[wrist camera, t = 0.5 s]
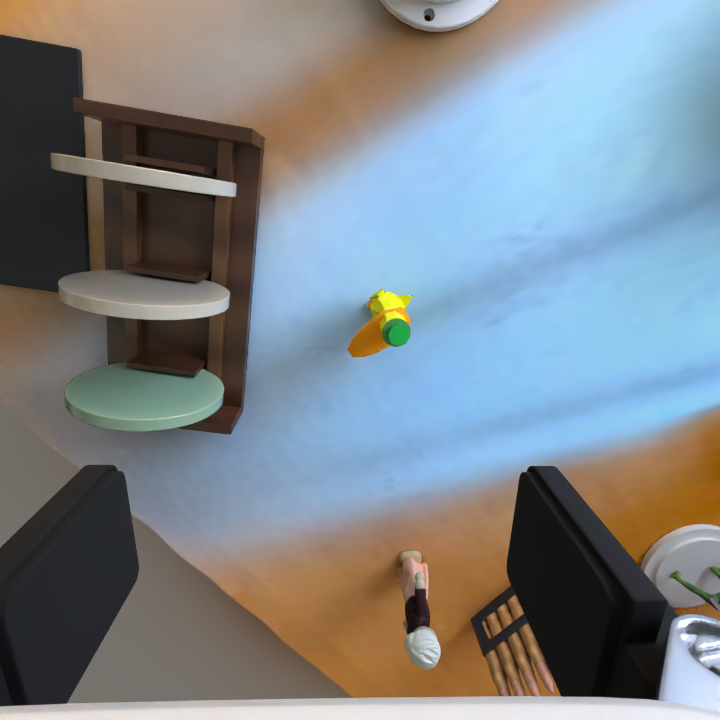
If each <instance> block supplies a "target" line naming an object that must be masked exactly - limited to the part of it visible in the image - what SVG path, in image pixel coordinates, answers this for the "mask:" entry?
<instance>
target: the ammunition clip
mask: <svg viewBox="0 0 720 720" xmlns="http://www.w3.org/2000/svg"><path fill="white" fill-rule="evenodd" d="M471 622H472V625H473V628H474V630H475V633H476V636H477V639H478V642H479V645H480V648H481V651H482V654H483V656H484V657H486V660H487V663H488V666H489V669H490V673H491V676H492V679H493V681H494V683H495V685H496V687H497V690H498V693H499V695H500V696H511V694H510V689H509V686H508V680H507V677H508V679H509V682H510V684H511V686H512V689H513V692H514V694H515V696H526V694H525V690H524V687H523V684H522V680H521V677H520V673H519V668H520V670H521V673H522V675H523V677H524V679H525V682H526V684H527V686H528V689H529V690H530V692H531V694H532V695H533V696H540V691H539V686H538V683H537V680H536V677H535V674H534V671H533V668H532V664H531V659H532V661H533V663H534V665H535V667H536V669H537V672H538V674H539V676H540V678H541V680H542V682H543V683H544V685H545V686H546V688H547V689H548V690H549V691H550V692H551V693H553V691H554V688H553V682H552V678H551V674H550V671H549V668H548V666H547V663H546V661H545V659H544V656H543V654H542V652H541V650H540V648H539V645H538V643H537V641H536V639H535V636H534V634H533V632H532V630H531V627H530V625H529V623H528V621H527V619H526V616H525V614H524V612H523V610H522V607H521V605H520V603H519V601H518V598H517V596H516V594H515V592H514V590H513V587H512V586H511V587H509V588H508V589H507V590H506V591H504V592H503V593H502V594H501V595H499V596H498V597H497V598H496V599H495V600H493V601H492V602H491V603H490V604H488V605H487V606H486V607H485V608H483V609H482V610H481V611H480V612H478V613H477V614H476V615H475V616H474V617H472V618H471ZM530 658H531V659H530ZM518 667H519V668H518Z"/></svg>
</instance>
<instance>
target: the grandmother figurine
mask: <svg viewBox="0 0 720 720" xmlns="http://www.w3.org/2000/svg"><path fill="white" fill-rule="evenodd" d="M421 560H422V555H421V553H420V552H419V551H416V550H414V551H405V552H401V553H400V554H399V561H400V562H401V563H403V564H402V566H401V567H399V568H398V570H397V575H398V576H399V577H400V583H401V587H402V592H403V596H404V599H405V614H406V619H405V620H404V622H403V624H404V627H405V628H406V631H407V634H408V636H407V637H406V641H405V649H406V651H407V653H408V654H409V657H410V659H411V661H412V662H413V663H414V664H416V665H418V666H420V667H421V668H423V669H431V668H433V667H435V666H436V665H437V663H438V660H439V658H440V656H441V654H440V652H441V650H440V644H439V643H438V641H437V637H436V635H435V633H434V631H433V630H432V629H430V628H429V624H430V612H429V608H428V604H427V599H428V568H427V564H426V563H422V564H420V563H421Z"/></svg>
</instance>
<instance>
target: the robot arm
mask: <svg viewBox="0 0 720 720" xmlns="http://www.w3.org/2000/svg"><path fill="white" fill-rule="evenodd" d="M380 1H381V3H382V4H383V5H384V6H385V8H386V9H387V10H388V11H389V12H390V13H392V14H393V15H394V16H395V17H396V18H398V19H399V20H400V21H402V22H404V23H406V24H408V25H410V26H412V27H414V28H417V29H421V30H425V31H429V32H445V31H450V30H455V29H459V28H462V27H464V26H466V25H468V24H471V23H473V22H474V21H476V20H477V19H479V18H480V17H481V16H483V15H484V14H486V13H487V12H488V11H489V10H490V9H491V8H492V7H493V6H494V5H495V4H496V3H497V2H498V0H380ZM425 16H429V17H430V21H426V20H425V18H424V17H425ZM138 572H139V563H138V556H137V550H136V544H135V537H134V531H133V524H132V518H131V512H130V505H129V499H128V493H127V486H126V480H125V475H124V473H123V472H121V471H118V470H117V468H116V467H115V466H114V465H86V466H85V467H83V468H82V469H81V470H80V471H79V472H78V473H77V474H76V475H75V476H74V477H73V478H72V479H71V480H70V481H69V482H68V483H67V484H66V485H65V486H64V487H63V488H61V489H60V490H59V492H57V494H56V495H54V496H53V497H52V498H51V499H50V500H49V501H48V502H47V503H46V504H45V505H44V506H43V507H42V508H41V509H40V510H39V511H38V512H37V513H36V514H35V515H34V516H33V517H32V518H31V519H30V520H28V521H27V522H26V523H25V524H24V525H23V526H22V528H20V529H19V530H18V531H17V532H16V533H15V534H14V535H13V536H12V537H11V538H10V539H9V540H8V541H7V542H6V543H5V544H4V545H3V546H2V547H1V548H0V720H720V621H719V620H716V619H713V618H711V617H708V616H702V615H696V614H689V615H681V616H679V615H678V614H677V613H676V612H675V611H674V609H673V608H672V607H671V606H670V605H669V603H668V600H667V599H666V598H665V597H664V596H663V594H662V593H661V592H660V591H659V590H658V588H657V587H656V586H655V585H654V584H653V582H652V581H651V580H650V579H649V578H648V576H647V575H646V574H645V573H644V572H643V570H642V569H641V568H640V567H639V566H638V564H637V563H636V562H635V561H634V560H633V558H632V557H631V556H630V555H629V554H628V552H627V551H626V550H625V549H624V548H623V546H622V545H621V544H620V543H619V542H618V541H617V539H616V538H615V537H614V536H613V535H612V533H611V532H610V531H609V530H608V529H607V527H606V526H605V525H604V524H603V523H602V521H601V520H600V519H599V518H598V517H597V515H596V514H595V513H594V512H593V511H592V509H591V508H590V507H589V506H588V505H587V503H586V502H585V501H584V500H583V499H582V497H581V496H580V495H579V494H578V493H577V491H576V490H575V489H574V488H573V487H572V485H571V484H570V483H569V482H568V481H567V479H566V478H565V477H564V476H563V475H562V473H561V472H560V471H559V470H558V469H557V468H556V467H554V466H530V467H529V468H528V470H527V472H522V473H521V475H520V478H519V485H518V492H517V498H516V505H515V512H514V519H513V525H512V532H511V539H510V545H509V552H508V559H507V574H508V578H509V581H510V583H511V585H512V587H513V590H514V592H515V594H516V596H517V598H518V601H519V603H520V605H521V607H522V610H523V612H524V614H525V616H526V619H527V621H528V623H529V625H530V627H531V630H532V632H533V634H534V636H535V639H536V641H537V643H538V645H539V648H540V650H541V652H542V654H543V656H544V659H545V661H546V663H547V665H548V668H549V670H550V672H551V674H552V676H553V679H554V681H555V683H556V685H557V688H558V690H559V692H560V694H561V697H548V696H488V697H386V698H325V699H323V698H319V699H258V700H207V701H206V700H205V701H161V702H117V703H74V704H67V702H68V700H69V698H70V697H71V695H72V693H73V691H74V690H75V688H76V686H77V684H78V683H79V681H80V679H81V677H82V676H83V674H84V672H85V670H86V669H87V667H88V665H89V663H90V662H91V660H92V658H93V656H94V654H95V653H96V651H97V649H98V647H99V646H100V644H101V642H102V640H103V639H104V637H105V635H106V633H107V632H108V630H109V628H110V626H111V625H112V623H113V621H114V619H115V618H116V616H117V614H118V612H119V611H120V609H121V607H122V605H123V603H124V602H125V600H126V598H127V596H128V595H129V593H130V591H131V589H132V588H133V586H134V584H135V582H136V580H137V577H138Z"/></svg>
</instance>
